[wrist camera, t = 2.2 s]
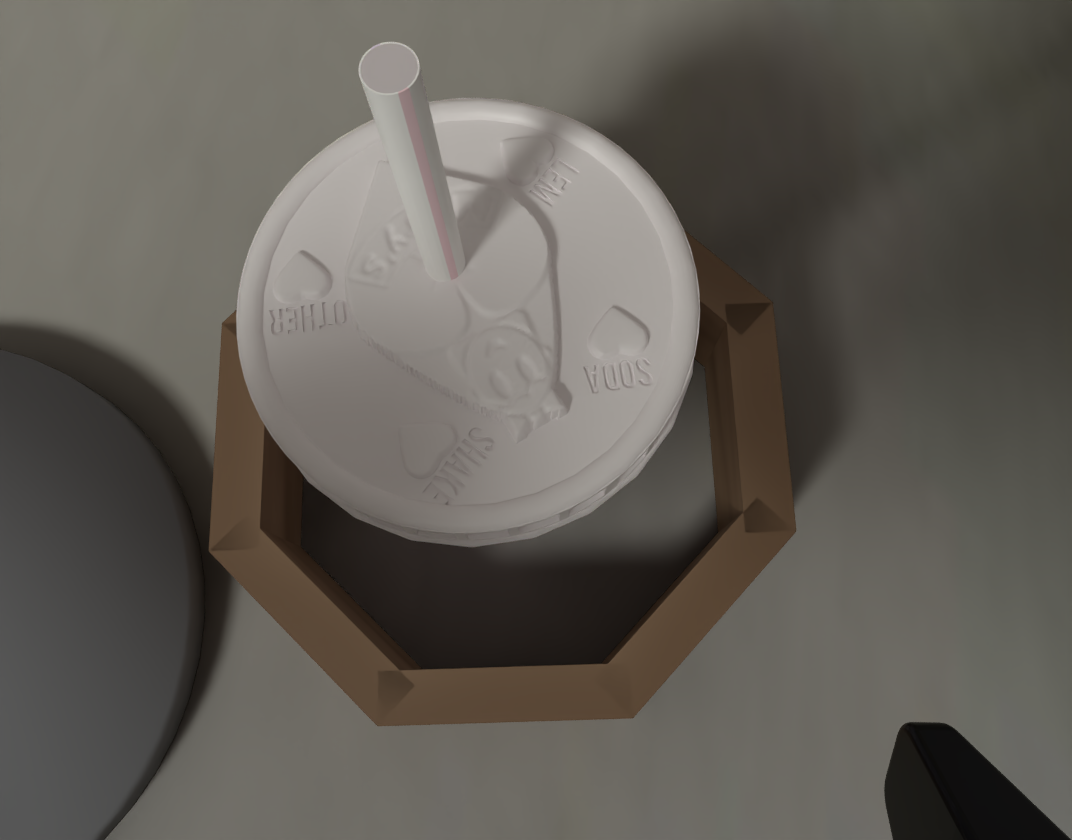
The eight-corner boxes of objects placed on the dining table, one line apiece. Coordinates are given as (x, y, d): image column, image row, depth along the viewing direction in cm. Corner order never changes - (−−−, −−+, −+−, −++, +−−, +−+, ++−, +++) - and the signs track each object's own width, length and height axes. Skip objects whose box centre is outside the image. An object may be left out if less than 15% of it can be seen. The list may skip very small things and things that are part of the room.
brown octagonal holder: (515, 831, 20) (507, 861, 17) (160, 467, 22) (99, 437, 19) (857, 442, 22) (903, 408, 19) (499, 144, 24) (490, 72, 21)
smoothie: (553, 280, 23) (542, -274, 9) (696, 501, 21) (932, 223, 8) (323, 410, 22) (-49, 16, 9) (455, 647, 21) (258, 621, 7)
